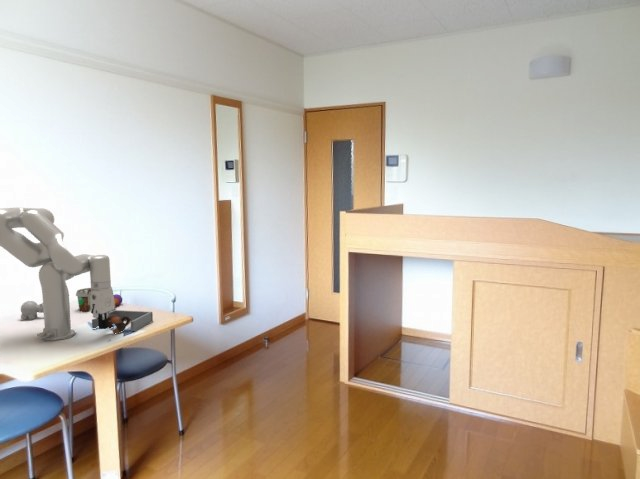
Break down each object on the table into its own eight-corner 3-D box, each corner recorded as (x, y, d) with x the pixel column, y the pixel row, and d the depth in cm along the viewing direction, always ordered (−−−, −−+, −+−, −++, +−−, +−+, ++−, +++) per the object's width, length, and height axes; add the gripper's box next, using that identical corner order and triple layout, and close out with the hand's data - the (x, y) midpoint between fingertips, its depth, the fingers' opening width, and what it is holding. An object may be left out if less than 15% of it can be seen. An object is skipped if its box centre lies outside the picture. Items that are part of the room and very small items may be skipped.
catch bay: (133, 331, 204) (133, 321, 203) (92, 329, 207) (91, 319, 206) (152, 321, 220) (152, 311, 219) (114, 319, 223) (113, 310, 222)
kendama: (101, 306, 232) (110, 294, 251) (104, 317, 233) (112, 304, 252) (114, 303, 233) (121, 291, 252) (117, 315, 234) (124, 302, 253)
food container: (79, 307, 245) (78, 288, 244) (92, 306, 247) (91, 287, 246) (74, 313, 233) (73, 293, 232) (88, 312, 235) (87, 292, 234)
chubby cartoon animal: (46, 320, 222) (45, 302, 221) (18, 321, 220) (17, 303, 219) (52, 315, 229) (51, 298, 228) (25, 317, 227) (23, 299, 226)
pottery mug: (108, 337, 197) (99, 320, 198) (104, 342, 205) (96, 325, 205) (135, 325, 204) (127, 308, 205) (131, 329, 212) (123, 313, 213)
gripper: (97, 289, 188) (100, 334, 190) (119, 281, 203) (122, 323, 205) (80, 288, 189) (83, 333, 191) (104, 281, 204) (106, 323, 206)
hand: (103, 328), depth 198 cm, fingers closed
